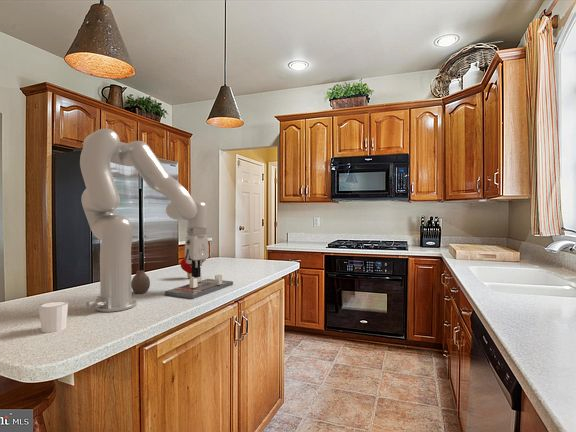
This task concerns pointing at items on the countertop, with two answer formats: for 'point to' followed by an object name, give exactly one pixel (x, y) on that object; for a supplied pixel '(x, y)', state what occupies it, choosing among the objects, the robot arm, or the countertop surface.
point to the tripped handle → (193, 282)
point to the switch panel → (200, 287)
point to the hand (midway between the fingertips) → (196, 276)
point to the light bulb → (186, 268)
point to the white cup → (53, 316)
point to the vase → (140, 282)
